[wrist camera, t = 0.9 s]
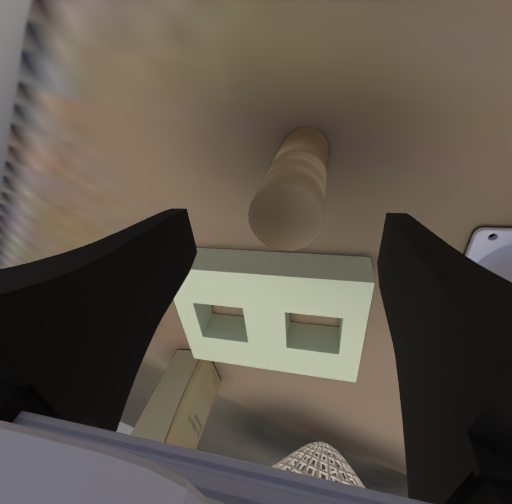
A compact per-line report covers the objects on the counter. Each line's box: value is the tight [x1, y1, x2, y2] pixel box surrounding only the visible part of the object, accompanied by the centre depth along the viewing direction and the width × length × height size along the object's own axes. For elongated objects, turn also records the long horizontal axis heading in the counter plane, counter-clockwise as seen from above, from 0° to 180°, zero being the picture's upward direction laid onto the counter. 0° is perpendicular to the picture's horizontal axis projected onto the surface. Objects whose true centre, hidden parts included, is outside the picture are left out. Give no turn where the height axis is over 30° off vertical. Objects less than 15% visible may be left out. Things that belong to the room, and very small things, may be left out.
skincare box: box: [131, 350, 221, 450], centre depth 32 cm, size 6×4×12 cm
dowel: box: [248, 127, 329, 251], centre depth 15 cm, size 3×3×9 cm
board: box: [174, 248, 374, 382], centre depth 26 cm, size 16×12×3 cm
